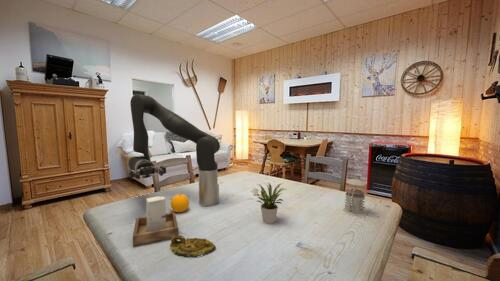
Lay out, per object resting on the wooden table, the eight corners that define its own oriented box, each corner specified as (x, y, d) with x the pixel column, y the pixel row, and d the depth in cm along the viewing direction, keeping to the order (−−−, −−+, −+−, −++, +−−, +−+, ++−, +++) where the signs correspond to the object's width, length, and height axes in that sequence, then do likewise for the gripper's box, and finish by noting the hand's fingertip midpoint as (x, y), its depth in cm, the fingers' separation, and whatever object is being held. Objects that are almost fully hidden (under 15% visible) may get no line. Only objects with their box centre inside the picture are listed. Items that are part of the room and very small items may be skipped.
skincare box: (148, 235, 74) (147, 202, 73) (146, 229, 78) (145, 198, 77) (166, 230, 78) (165, 198, 76) (164, 225, 81) (163, 195, 80)
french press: (368, 211, 97) (372, 158, 94) (361, 220, 88) (365, 161, 86) (346, 205, 103) (349, 155, 101) (337, 213, 95) (340, 158, 92)
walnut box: (174, 220, 87) (174, 211, 86) (178, 237, 74) (178, 227, 74) (136, 227, 81) (136, 218, 81) (133, 246, 68) (132, 236, 68)
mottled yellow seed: (217, 244, 73) (174, 243, 72) (218, 230, 73) (174, 229, 73) (213, 259, 63) (163, 258, 63) (213, 243, 63) (164, 242, 63)
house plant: (291, 216, 92) (292, 179, 90) (286, 231, 79) (287, 189, 77) (260, 211, 96) (260, 176, 95) (250, 225, 83) (251, 185, 82)
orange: (167, 212, 94) (166, 196, 93) (179, 206, 101) (178, 190, 101) (181, 215, 91) (181, 198, 90) (192, 208, 98) (192, 193, 98)
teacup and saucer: (266, 195, 118) (266, 188, 118) (259, 199, 112) (259, 192, 111) (253, 192, 123) (253, 185, 123) (245, 196, 116) (246, 189, 116)
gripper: (126, 162, 94) (129, 168, 81) (160, 158, 102) (168, 163, 89) (127, 178, 95) (131, 187, 82) (161, 173, 103) (169, 180, 90)
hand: (150, 175), depth 85 cm, fingers open, 8 cm apart
